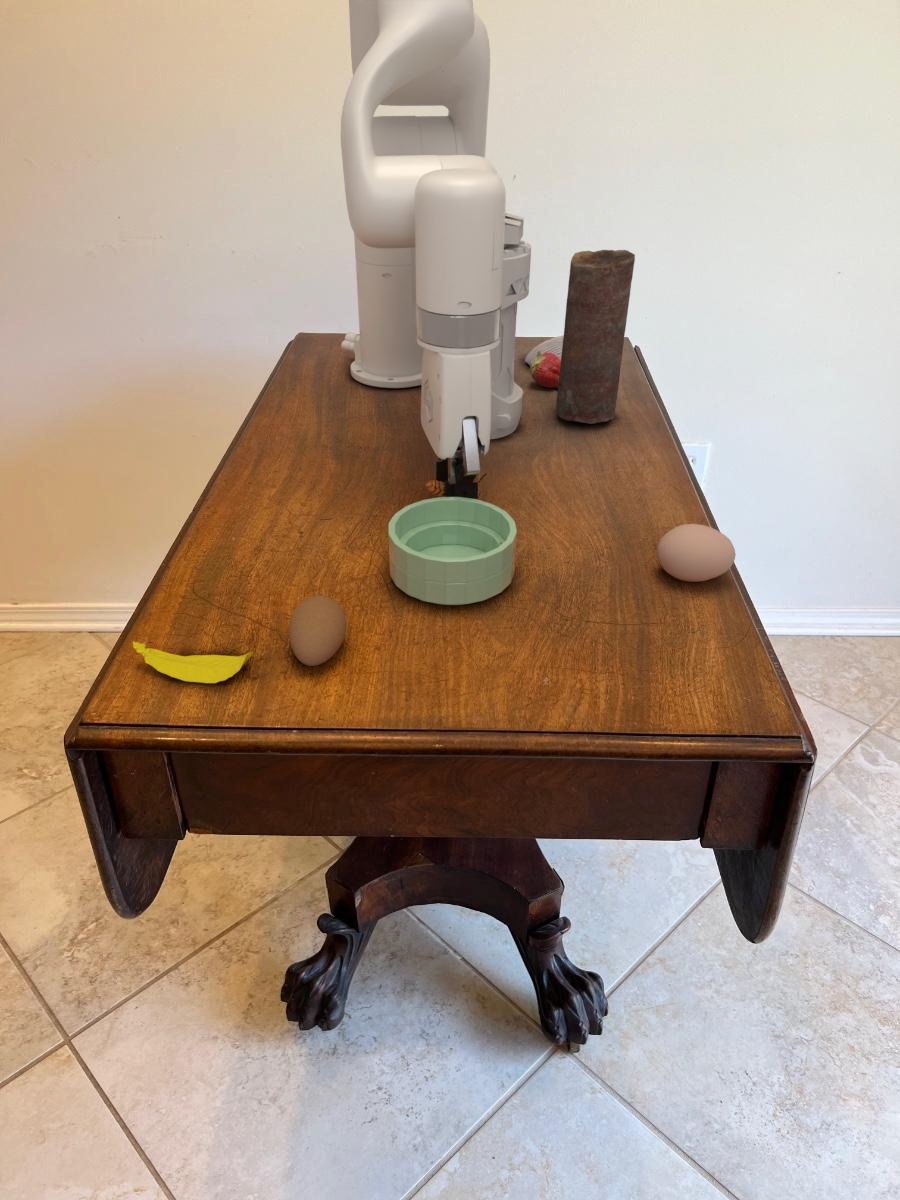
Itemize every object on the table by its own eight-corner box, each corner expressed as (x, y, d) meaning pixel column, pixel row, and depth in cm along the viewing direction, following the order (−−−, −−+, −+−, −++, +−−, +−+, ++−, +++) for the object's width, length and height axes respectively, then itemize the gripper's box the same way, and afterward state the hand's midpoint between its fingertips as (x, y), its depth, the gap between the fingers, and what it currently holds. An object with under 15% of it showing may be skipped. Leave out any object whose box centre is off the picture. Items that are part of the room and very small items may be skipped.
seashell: (602, 356, 115) (532, 337, 115) (589, 392, 119) (521, 374, 119) (601, 332, 124) (536, 314, 123) (590, 366, 127) (526, 349, 127)
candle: (612, 435, 102) (634, 262, 90) (552, 429, 103) (566, 258, 91) (615, 411, 108) (636, 246, 96) (558, 406, 109) (572, 243, 97)
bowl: (365, 584, 75) (362, 535, 72) (435, 531, 82) (435, 485, 79) (471, 625, 70) (472, 575, 67) (535, 565, 77) (539, 518, 74)
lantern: (525, 411, 107) (538, 198, 93) (516, 444, 99) (528, 216, 85) (426, 403, 109) (424, 194, 95) (409, 436, 101) (404, 211, 86)
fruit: (571, 392, 113) (574, 356, 110) (527, 390, 113) (529, 354, 110) (571, 381, 116) (574, 346, 113) (528, 379, 117) (530, 344, 114)
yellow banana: (144, 651, 66) (126, 679, 64) (139, 631, 65) (121, 658, 63) (262, 659, 66) (249, 687, 63) (259, 638, 65) (246, 667, 62)
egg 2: (662, 549, 71) (744, 554, 70) (660, 509, 75) (738, 514, 74) (653, 590, 75) (731, 596, 74) (651, 551, 78) (726, 556, 78)
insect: (479, 451, 85) (477, 495, 88) (421, 456, 83) (420, 501, 86) (491, 468, 82) (488, 513, 84) (430, 474, 80) (429, 519, 83)
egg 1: (311, 616, 69) (295, 679, 66) (288, 585, 66) (269, 649, 63) (360, 613, 68) (346, 677, 65) (339, 580, 65) (323, 646, 61)
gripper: (401, 301, 81) (405, 473, 91) (436, 358, 67) (437, 552, 78) (476, 297, 82) (472, 467, 92) (525, 352, 69) (514, 543, 79)
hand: (456, 504), depth 85 cm, fingers closed on insect, 3 cm apart
